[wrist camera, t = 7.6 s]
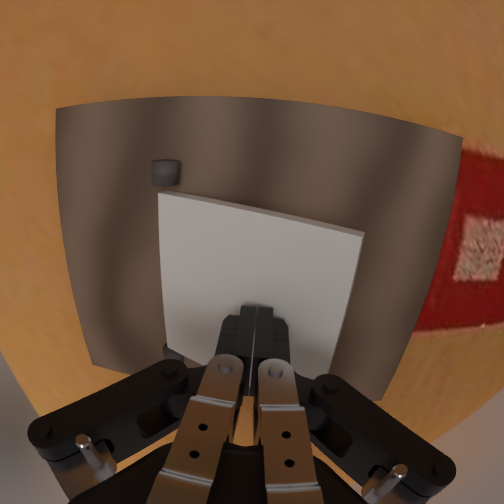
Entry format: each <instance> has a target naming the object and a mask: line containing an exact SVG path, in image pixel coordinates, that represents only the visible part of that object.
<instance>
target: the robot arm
mask: <svg viewBox="0 0 504 504" xmlns="http://www.w3.org/2000/svg"><path fill="white" fill-rule="evenodd" d="M255 318H256V306H246V305H241V309H240V315H231V314H229V315H228V316H227V317H226V318H225V319H224V320H223V322H222V326H221V330H220V335H219V338H218V342H217V347H216V351H215V355H214V357H213V358H211V359H210V360H209V362H208V364H206V365H204V366H201V367H196V368H187V366H186V365H185V364H184V363H183V362H181V361H179V360H176V359H164V360H161V361H159V362H157V363H155V364H153V365H151V366H149V367H147V368H145V369H143V370H141V371H139V372H137V373H135V374H133V375H131V376H129V377H127V378H125V379H123V380H121V381H119V382H117V383H114V384H112V385H110V386H108V387H106V388H104V389H102V390H100V391H98V392H95V393H93V394H91V395H89V396H87V397H85V398H82V399H80V400H78V401H76V402H74V403H71V404H69V405H67V406H65V407H62V408H60V409H58V410H56V411H53V412H51V413H49V414H46V415H44V416H42V417H40V418H37V419H35V420H34V421H33V422H32V423H31V424H30V425H29V427H28V432H27V434H28V438H29V441H30V442H31V443H32V445H33V446H34V447H35V448H36V450H37V451H38V453H39V455H40V456H41V457H42V458H43V460H44V461H45V462H46V463H47V464H48V465H49V467H50V468H51V470H52V472H53V473H54V475H55V477H56V479H57V480H58V482H59V484H60V486H61V488H62V489H63V491H64V493H65V494H66V496H67V497H68V499H69V501H70V502H69V503H68V504H425V503H426V502H427V501H429V500H430V499H432V498H433V497H434V496H435V495H436V494H438V493H439V492H440V491H441V490H443V489H444V488H445V487H446V486H447V485H448V484H450V483H451V482H452V481H453V479H454V478H455V475H456V466H455V464H454V462H453V461H452V460H451V459H450V458H449V457H448V456H446V455H445V454H443V453H442V452H440V451H439V450H438V449H436V448H435V447H434V446H432V445H431V444H429V443H428V442H426V441H425V440H424V439H422V438H421V437H419V436H418V435H417V434H415V433H414V432H413V431H411V430H410V429H408V428H407V427H406V426H404V425H403V424H402V423H400V422H399V421H397V420H396V419H395V418H393V417H392V416H391V415H389V414H388V413H387V412H385V411H384V410H383V409H381V408H380V407H379V406H377V405H376V404H375V403H373V402H372V401H371V400H369V399H368V398H367V397H365V396H364V395H363V394H361V393H360V392H359V391H358V390H356V389H355V388H354V387H352V386H351V385H350V384H348V383H347V382H346V381H345V380H343V379H342V378H341V377H339V376H336V375H333V374H322V375H319V376H317V377H316V378H315V379H314V380H313V379H310V378H306V377H303V376H301V375H299V374H298V373H296V372H295V371H294V370H293V368H292V366H291V363H290V346H289V329H288V325H287V324H286V322H285V321H284V319H274V318H273V308H269V307H258V309H257V319H256V329H255ZM254 329H255V339H254ZM253 339H254V350H253ZM252 350H253V362H252V373H251V384H250V394H249V396H254V405H253V446H245V447H244V446H239V445H236V444H233V440H234V435H235V431H236V426H237V422H238V418H239V413H240V407H241V405H242V402H243V396H248V390H249V380H250V370H251V361H252ZM177 428H178V431H177V433H176V436H175V438H174V441H173V442H172V443H168V444H166V445H163V446H161V447H159V448H157V449H155V450H154V451H152V452H150V453H149V454H147V455H146V456H144V457H143V458H141V459H139V460H138V461H136V462H135V463H133V464H131V465H130V466H128V467H126V468H125V469H123V470H121V471H120V472H118V473H116V470H117V463H119V462H121V461H123V460H125V459H126V458H128V457H130V456H132V455H134V454H135V453H137V452H139V451H141V450H142V449H144V448H146V447H148V446H149V445H151V444H153V443H154V442H156V441H158V440H159V439H161V438H163V437H164V436H166V435H168V434H169V433H171V432H173V431H174V430H176V429H177ZM310 441H311V442H312V443H313V444H314V445H315V446H316V447H317V448H318V449H319V450H321V451H322V452H323V453H324V454H325V455H326V456H327V457H328V458H329V459H330V460H332V461H333V462H334V463H335V464H336V465H337V466H338V467H339V468H341V469H342V470H343V471H344V472H345V473H346V474H347V475H349V476H350V477H351V478H352V479H353V480H354V481H356V482H357V483H358V484H359V485H360V486H362V490H361V495H362V497H361V496H360V495H359V494H358V493H357V492H356V491H355V490H353V489H352V488H351V487H350V486H349V485H348V484H347V483H346V482H345V481H344V480H343V479H342V478H341V477H340V476H338V475H337V474H336V473H335V472H334V471H333V470H332V469H331V468H330V467H329V466H328V465H327V464H326V463H324V462H323V461H322V460H320V459H319V458H317V457H315V456H313V454H312V448H311V442H310ZM115 473H116V474H115Z"/></svg>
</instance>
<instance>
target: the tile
mask: <svg viewBox="0 0 504 504" xmlns="http://www.w3.org/2000/svg"><path fill="white" fill-rule="evenodd" d="M158 217H159V246H160V266H161V281H162V295H163V307H164V318H165V328H166V337H167V346H168V348H170V349H172V350H174V351H176V352H178V353H179V354H181V355H183V356H185V357H187V358H189V359H191V360H193V361H195V362H197V363H199V364H201V365H203V366H204V365H206V364H208V362H209V360H210V359H211V358H213V357H214V355H215V351H216V347H217V342H218V338H219V335H220V330H221V326H222V322H223V320H224V319H225V318H226V317H227V316H228V315H229V314H231V315H240V309H241V305H246V306H256V318H255V329H256V319H257V309H258V307H269V308H273V318H274V319H284V321H285V322H286V324H287V325H288V329H289V346H290V363H291V366H292V368H293V370H294V371H295V372H296V373H298V374H299V375H301V376H303V377H306V378H310V379H313V380H314V379H315V378H316V377H317V376H319V375H322V374H328V372H329V369H330V366H331V363H332V359H333V356H334V353H335V350H336V346H337V343H338V340H339V336H340V333H341V329H342V326H343V322H344V319H345V315H346V311H347V307H348V304H349V300H350V296H351V292H352V288H353V284H354V280H355V275H356V271H357V267H358V262H359V258H360V253H361V249H362V244H363V239H364V234H365V232H362V231H358V230H354V229H349V228H345V227H341V226H337V225H333V224H328V223H324V222H320V221H316V220H311V219H307V218H302V217H298V216H293V215H289V214H284V213H280V212H275V211H270V210H266V209H261V208H256V207H251V206H246V205H241V204H236V203H231V202H226V201H221V200H216V199H211V198H206V197H200V196H195V195H190V194H184V193H179V192H173V191H164V192H160V193H158ZM255 329H254V339H255ZM254 339H253V350H254ZM253 350H252V361H251V370H250V380H249V387H250V384H251V373H252V362H253Z"/></svg>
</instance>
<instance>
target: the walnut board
mask: <svg viewBox="0 0 504 504" xmlns="http://www.w3.org/2000/svg"><path fill="white" fill-rule="evenodd" d="M462 142H463V138H462V137H459V136H456V135H453V134H450V133H447V132H443V131H440V130H437V129H433V128H430V127H426V126H423V125H419V124H415V123H411V122H407V121H403V120H399V119H395V118H391V117H386V116H382V115H377V114H372V113H367V112H362V111H357V110H351V109H346V108H340V107H333V106H327V105H320V104H313V103H305V102H296V101H287V100H276V99H264V98H248V97H225V96H174V97H151V98H136V99H124V100H114V101H105V102H97V103H89V104H82V105H75V106H69V107H63V108H58V109H56V173H57V189H58V201H59V211H60V220H61V228H62V235H63V242H64V248H65V254H66V260H67V266H68V271H69V276H70V281H71V286H72V291H73V295H74V300H75V304H76V308H77V312H78V316H79V320H80V324H81V327H82V331H83V335H84V338H85V341H86V345H87V348H88V351H89V355H90V358H91V361H92V364H93V365H96V366H99V367H103V368H107V369H110V370H114V371H118V372H122V373H126V374H130V375H133V374H135V373H137V372H139V371H141V370H143V369H145V368H147V367H149V366H151V365H153V364H155V363H157V362H159V361H161V360H164V359H176V360H179V361H181V362H183V363H184V364H185V365H186V366H187V368H196V367H201V366H203V365H201V364H199V363H197V362H195V361H193V360H191V359H189V358H187V357H185V356H183V355H181V354H179V353H178V352H176V351H174V350H172V349H170V348H168V346H167V337H166V328H165V318H164V307H163V295H162V281H161V266H160V246H159V217H158V193H160V192H164V191H173V192H179V193H184V194H190V195H195V196H200V197H206V198H211V199H216V200H221V201H226V202H231V203H236V204H241V205H246V206H251V207H256V208H261V209H266V210H270V211H275V212H280V213H284V214H289V215H293V216H298V217H302V218H307V219H311V220H316V221H320V222H324V223H328V224H333V225H337V226H341V227H345V228H349V229H354V230H358V231H362V232H365V234H364V239H363V244H362V249H361V253H360V258H359V262H358V267H357V271H356V275H355V280H354V284H353V288H352V292H351V296H350V300H349V304H348V307H347V311H346V315H345V319H344V322H343V326H342V329H341V333H340V336H339V340H338V343H337V346H336V350H335V353H334V356H333V359H332V363H331V366H330V369H329V372H328V374H333V375H336V376H339V377H341V378H342V379H343V380H345V381H346V382H347V383H348V384H350V385H351V386H352V387H354V388H355V389H356V390H358V391H359V392H360V393H361V394H363V395H364V396H365V397H367V398H368V399H369V400H371V401H377V400H381V399H382V397H383V395H384V393H385V391H386V389H387V387H388V385H389V383H390V381H391V379H392V377H393V375H394V373H395V371H396V369H397V367H398V365H399V362H400V360H401V358H402V356H403V354H404V351H405V349H406V347H407V344H408V342H409V340H410V337H411V335H412V333H413V330H414V328H415V325H416V323H417V320H418V317H419V315H420V312H421V309H422V307H423V304H424V301H425V298H426V296H427V293H428V290H429V287H430V284H431V281H432V278H433V275H434V271H435V268H436V265H437V262H438V258H439V255H440V251H441V248H442V244H443V240H444V237H445V233H446V229H447V225H448V221H449V216H450V212H451V207H452V203H453V198H454V193H455V188H456V182H457V176H458V170H459V164H460V157H461V150H462ZM249 394H250V387H249V390H248V395H249Z"/></svg>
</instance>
